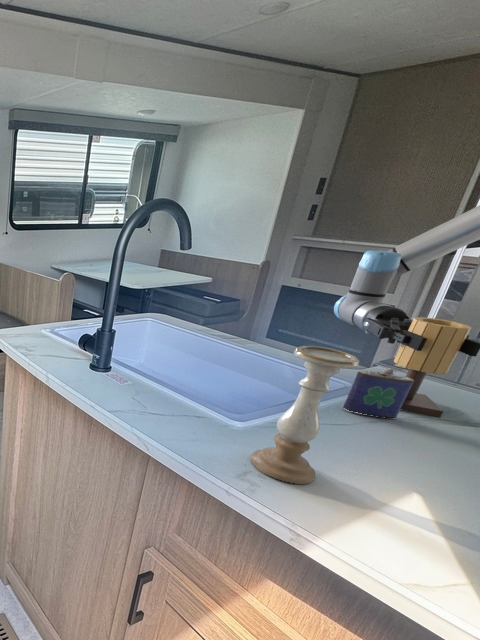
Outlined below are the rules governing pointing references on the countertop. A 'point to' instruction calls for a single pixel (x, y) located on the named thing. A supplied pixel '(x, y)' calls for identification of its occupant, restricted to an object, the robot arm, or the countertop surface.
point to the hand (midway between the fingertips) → (449, 347)
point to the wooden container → (433, 345)
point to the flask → (378, 393)
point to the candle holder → (302, 417)
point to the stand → (419, 397)
